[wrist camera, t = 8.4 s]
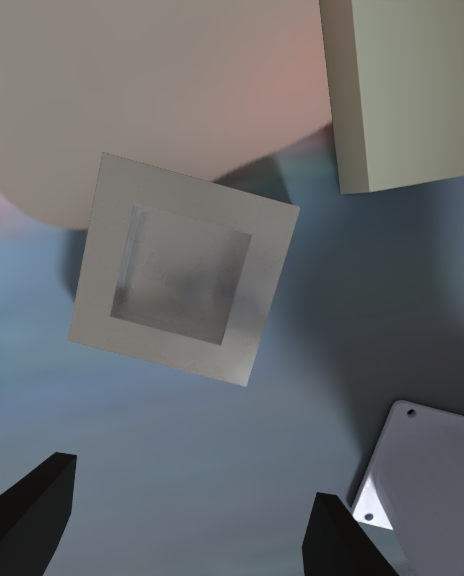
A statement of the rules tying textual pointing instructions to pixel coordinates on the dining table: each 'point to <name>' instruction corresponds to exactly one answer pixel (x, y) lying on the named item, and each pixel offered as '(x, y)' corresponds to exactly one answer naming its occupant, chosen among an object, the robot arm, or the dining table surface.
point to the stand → (179, 270)
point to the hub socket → (395, 90)
